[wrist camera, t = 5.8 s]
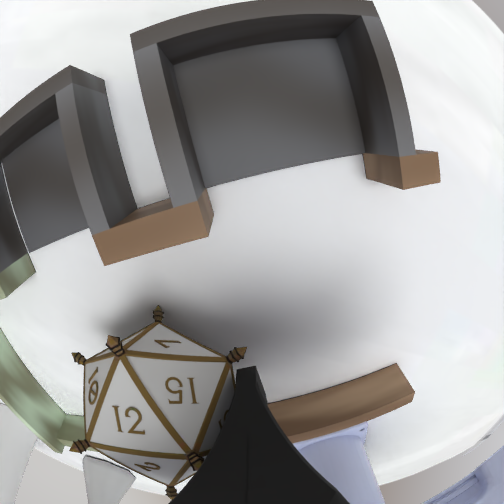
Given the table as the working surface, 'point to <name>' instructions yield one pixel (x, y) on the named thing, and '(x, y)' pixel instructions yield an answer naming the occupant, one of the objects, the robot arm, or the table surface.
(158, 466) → the game die
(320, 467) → the robot arm
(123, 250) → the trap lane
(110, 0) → the table surface
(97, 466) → the flask
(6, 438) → the spray bottle
